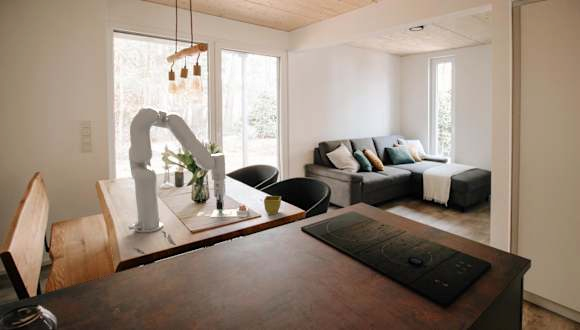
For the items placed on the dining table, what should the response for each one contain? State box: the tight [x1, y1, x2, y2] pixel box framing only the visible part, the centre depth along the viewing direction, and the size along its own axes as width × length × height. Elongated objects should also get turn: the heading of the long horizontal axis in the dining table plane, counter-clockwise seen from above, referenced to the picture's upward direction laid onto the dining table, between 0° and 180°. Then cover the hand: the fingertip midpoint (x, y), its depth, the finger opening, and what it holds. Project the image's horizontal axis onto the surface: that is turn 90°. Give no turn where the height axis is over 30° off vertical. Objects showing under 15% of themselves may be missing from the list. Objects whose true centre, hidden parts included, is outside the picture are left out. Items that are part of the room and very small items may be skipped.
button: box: [238, 204, 246, 210], centre depth 177 cm, size 3×3×3 cm
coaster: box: [196, 211, 212, 217], centre depth 177 cm, size 7×7×1 cm
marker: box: [216, 196, 225, 213], centre depth 176 cm, size 4×4×11 cm
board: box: [209, 206, 249, 218], centre depth 177 cm, size 20×12×3 cm, turn 93°
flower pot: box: [263, 195, 282, 215], centre depth 178 cm, size 9×9×9 cm
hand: (220, 207), depth 177 cm, fingers closed on marker, 3 cm apart
